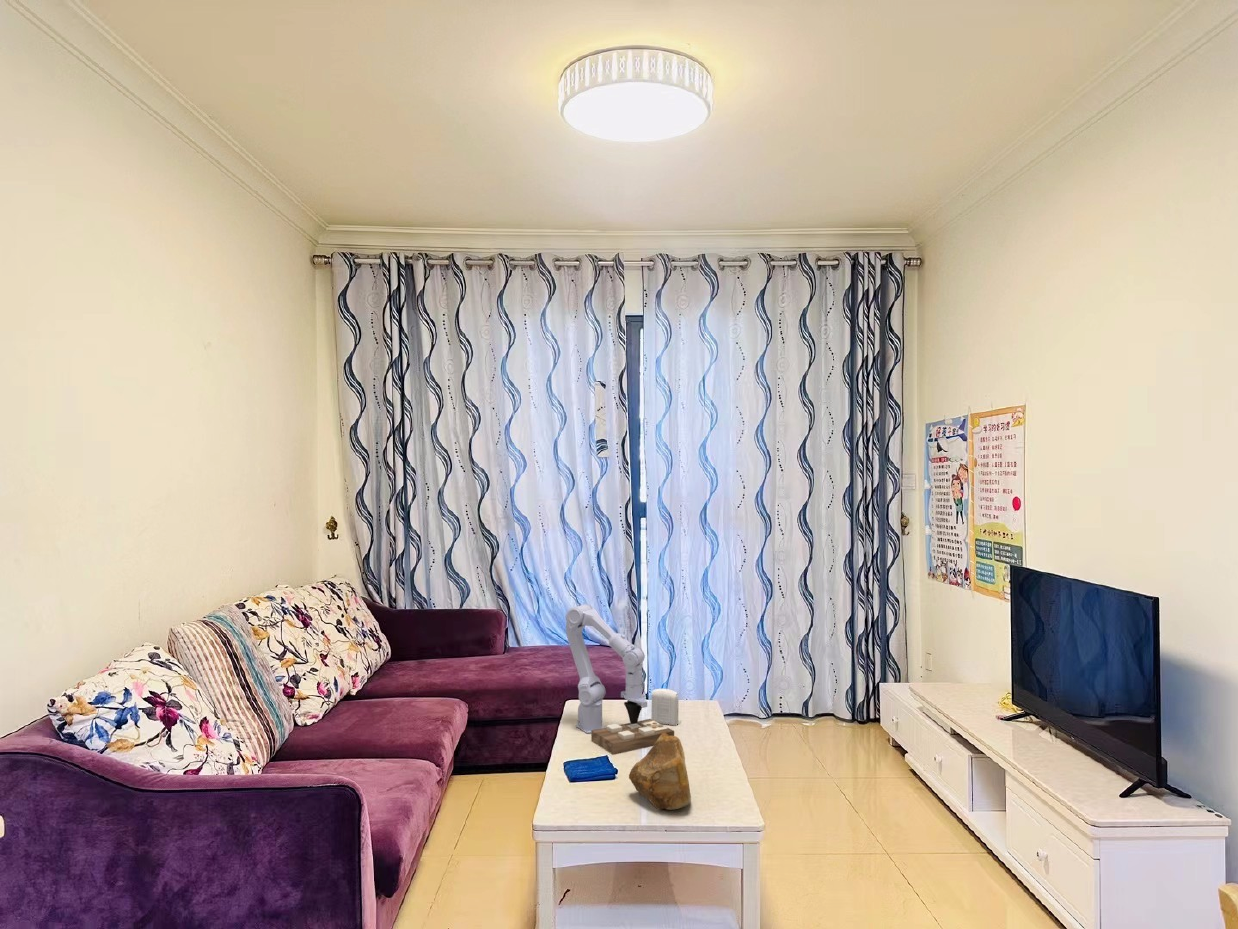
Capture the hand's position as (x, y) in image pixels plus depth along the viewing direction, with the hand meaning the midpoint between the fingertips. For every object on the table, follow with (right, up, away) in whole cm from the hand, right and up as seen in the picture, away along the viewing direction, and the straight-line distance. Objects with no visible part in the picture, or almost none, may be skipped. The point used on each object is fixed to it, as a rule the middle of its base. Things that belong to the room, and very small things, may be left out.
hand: (633, 723), depth 260 cm
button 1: (-7, -1, -4) cm, 8 cm away
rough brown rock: (+6, -4, -50) cm, 50 cm away
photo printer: (+12, -5, +14) cm, 19 cm away
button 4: (+4, -1, -7) cm, 8 cm away
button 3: (0, -2, 0) cm, 2 cm away
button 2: (-3, -1, -11) cm, 11 cm away
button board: (0, -4, -5) cm, 7 cm away
